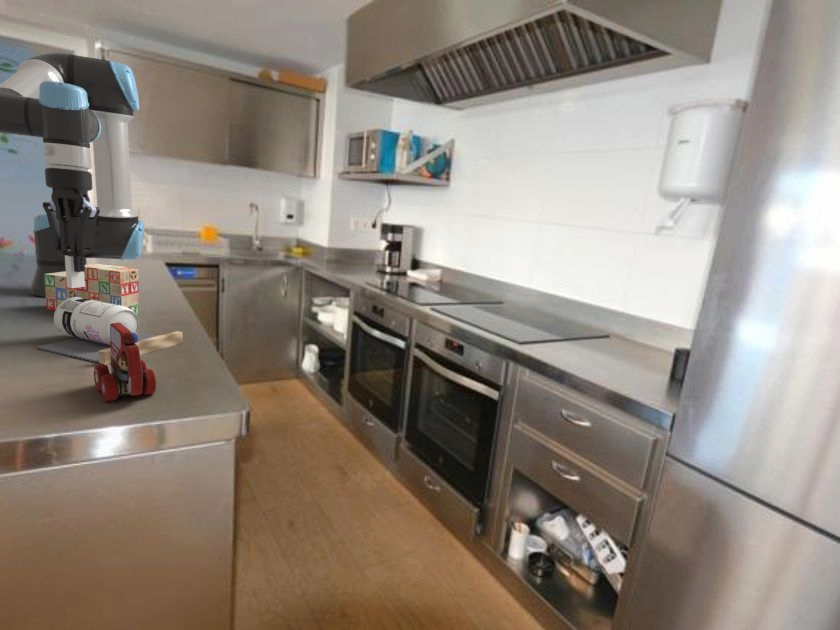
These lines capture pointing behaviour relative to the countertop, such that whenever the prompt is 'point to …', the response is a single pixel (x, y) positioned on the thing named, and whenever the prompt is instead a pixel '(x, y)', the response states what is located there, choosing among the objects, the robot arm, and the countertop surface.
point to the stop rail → (147, 345)
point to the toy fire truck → (124, 367)
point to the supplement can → (92, 319)
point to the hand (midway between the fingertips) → (75, 286)
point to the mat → (83, 347)
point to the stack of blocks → (96, 286)
